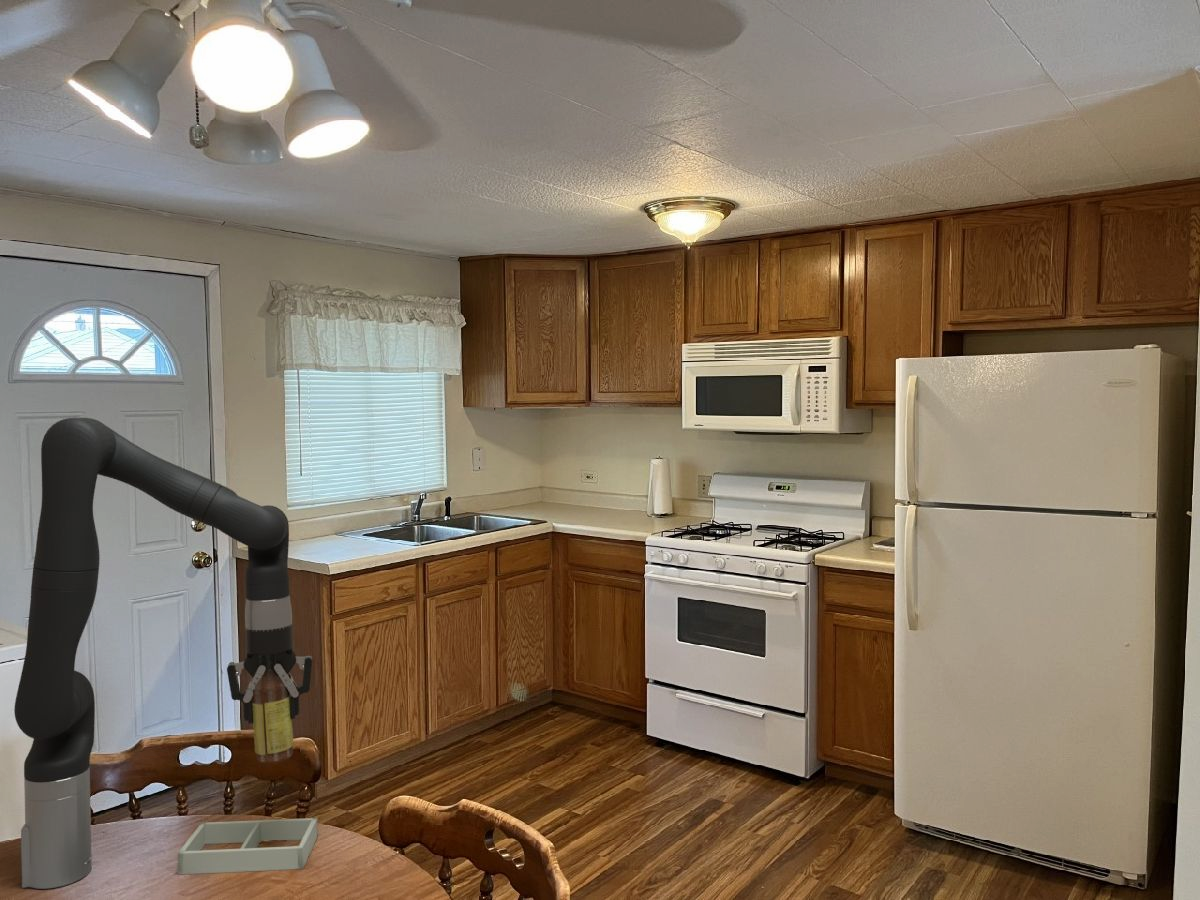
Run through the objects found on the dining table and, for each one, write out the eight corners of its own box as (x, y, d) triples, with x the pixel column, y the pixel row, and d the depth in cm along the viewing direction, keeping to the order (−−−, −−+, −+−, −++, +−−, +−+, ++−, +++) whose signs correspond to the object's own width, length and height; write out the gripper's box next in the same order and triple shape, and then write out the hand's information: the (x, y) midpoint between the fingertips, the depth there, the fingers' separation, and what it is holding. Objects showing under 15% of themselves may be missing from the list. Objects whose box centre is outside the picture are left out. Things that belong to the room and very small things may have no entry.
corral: (177, 874, 149) (177, 853, 149) (201, 842, 161) (201, 822, 160) (302, 868, 151) (302, 848, 151) (317, 837, 162) (317, 817, 162)
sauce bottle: (299, 751, 158) (296, 639, 158) (283, 765, 152) (280, 648, 152) (263, 751, 159) (260, 638, 158) (246, 764, 153) (242, 647, 152)
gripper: (221, 631, 149) (225, 732, 150) (313, 624, 153) (316, 721, 154) (225, 622, 156) (229, 718, 157) (313, 615, 161) (316, 708, 161)
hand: (272, 719), depth 155 cm, fingers closed on sauce bottle, 6 cm apart
